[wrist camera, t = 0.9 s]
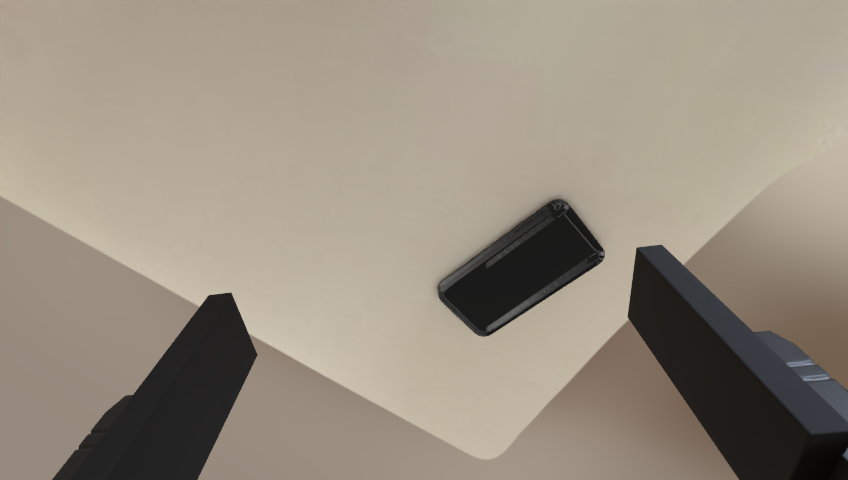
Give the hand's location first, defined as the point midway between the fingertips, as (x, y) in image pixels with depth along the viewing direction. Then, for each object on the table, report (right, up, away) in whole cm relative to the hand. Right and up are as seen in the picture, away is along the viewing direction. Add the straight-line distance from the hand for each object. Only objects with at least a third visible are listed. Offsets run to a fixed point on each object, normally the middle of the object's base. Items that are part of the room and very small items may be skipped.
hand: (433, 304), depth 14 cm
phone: (+9, -1, +27) cm, 29 cm away
